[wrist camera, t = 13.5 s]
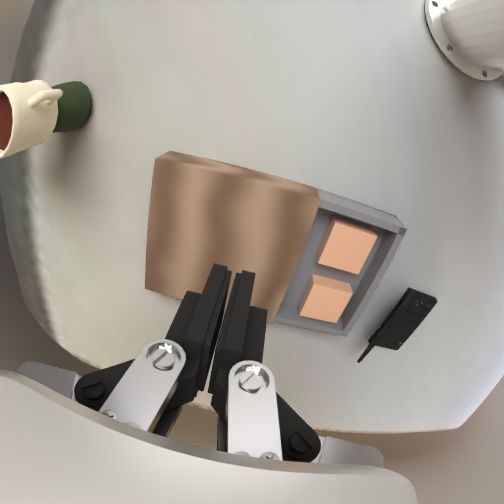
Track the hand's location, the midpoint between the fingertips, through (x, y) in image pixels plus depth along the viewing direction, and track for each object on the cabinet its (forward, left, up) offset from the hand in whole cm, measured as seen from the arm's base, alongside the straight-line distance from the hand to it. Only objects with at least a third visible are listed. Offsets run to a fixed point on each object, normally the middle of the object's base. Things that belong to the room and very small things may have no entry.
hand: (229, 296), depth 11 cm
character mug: (+24, -4, -20) cm, 32 cm away
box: (-11, +8, -20) cm, 24 cm away
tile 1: (-11, +12, -17) cm, 24 cm away
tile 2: (-11, +4, -17) cm, 21 cm away
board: (+2, +8, -20) cm, 22 cm away
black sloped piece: (-24, +14, -21) cm, 34 cm away
